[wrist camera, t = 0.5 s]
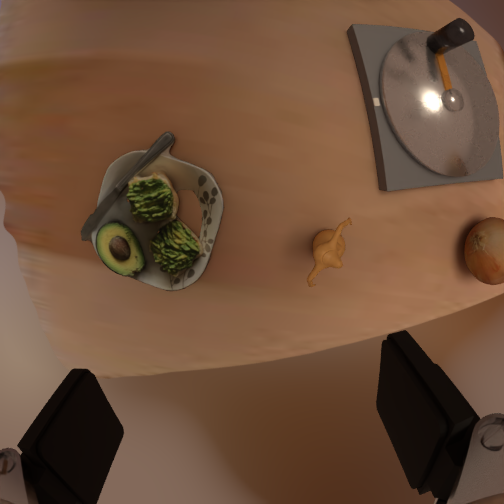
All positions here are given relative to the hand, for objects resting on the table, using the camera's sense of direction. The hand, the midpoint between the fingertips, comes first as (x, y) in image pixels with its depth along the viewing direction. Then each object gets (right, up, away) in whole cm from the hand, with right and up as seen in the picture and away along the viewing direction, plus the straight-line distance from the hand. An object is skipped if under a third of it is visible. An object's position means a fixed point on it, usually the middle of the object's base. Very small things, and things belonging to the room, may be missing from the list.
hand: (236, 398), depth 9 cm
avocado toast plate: (-12, +8, +29) cm, 33 cm away
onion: (+35, +6, +30) cm, 47 cm away
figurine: (+9, +6, +30) cm, 31 cm away
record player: (+26, +24, +21) cm, 41 cm away
